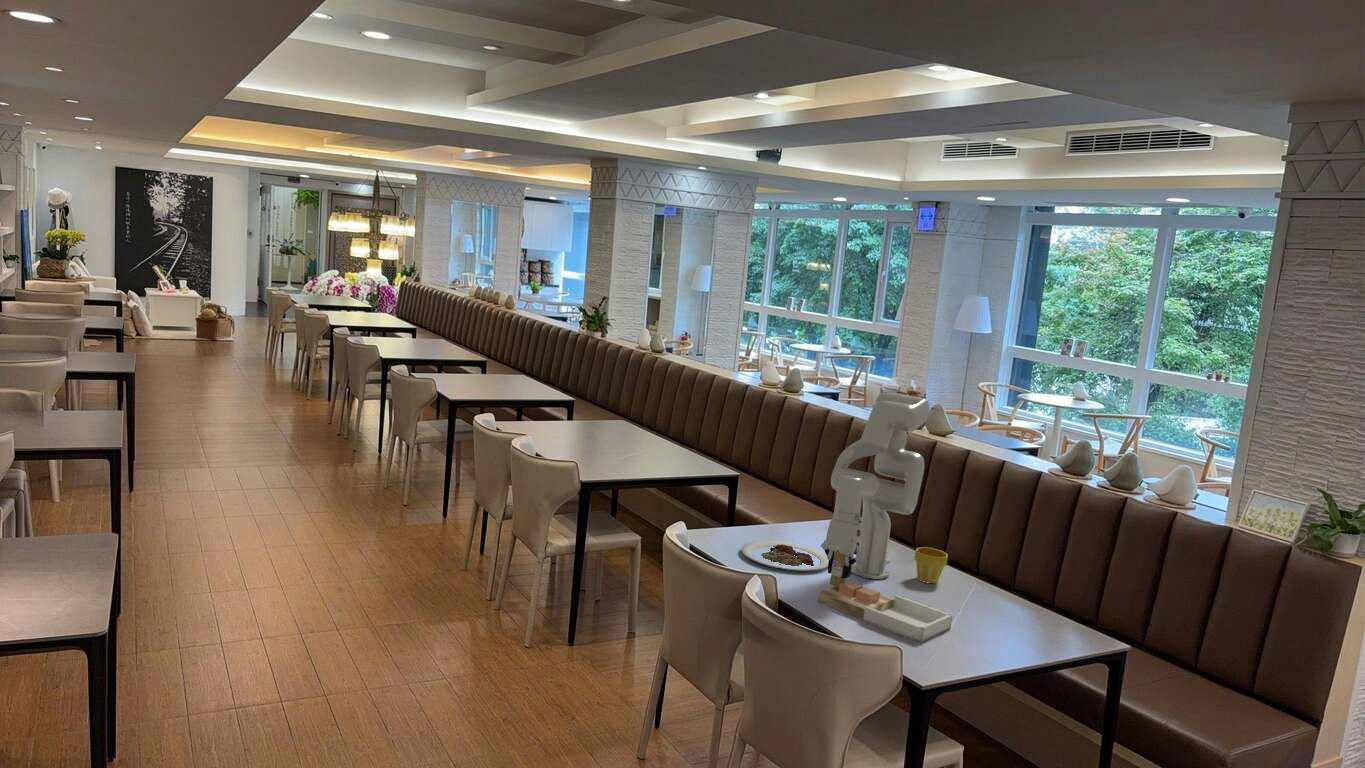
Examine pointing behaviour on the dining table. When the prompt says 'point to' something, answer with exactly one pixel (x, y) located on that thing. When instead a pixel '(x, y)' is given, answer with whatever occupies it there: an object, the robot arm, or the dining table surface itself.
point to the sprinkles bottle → (837, 568)
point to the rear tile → (849, 588)
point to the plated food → (786, 554)
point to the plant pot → (930, 563)
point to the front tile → (867, 595)
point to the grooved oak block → (852, 602)
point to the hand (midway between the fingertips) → (838, 574)
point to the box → (910, 619)
